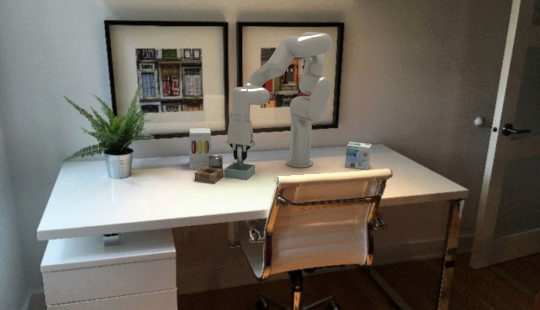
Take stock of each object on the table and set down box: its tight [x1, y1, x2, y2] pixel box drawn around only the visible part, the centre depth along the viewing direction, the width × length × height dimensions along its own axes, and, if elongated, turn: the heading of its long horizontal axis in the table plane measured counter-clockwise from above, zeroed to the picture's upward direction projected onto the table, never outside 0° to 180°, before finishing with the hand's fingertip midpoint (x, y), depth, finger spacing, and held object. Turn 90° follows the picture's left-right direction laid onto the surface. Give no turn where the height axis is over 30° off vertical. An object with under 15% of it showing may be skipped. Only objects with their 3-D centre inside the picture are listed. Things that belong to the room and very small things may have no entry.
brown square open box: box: [194, 167, 224, 185], centre depth 198 cm, size 9×9×4 cm
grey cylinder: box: [209, 154, 224, 170], centre depth 206 cm, size 6×6×8 cm
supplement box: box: [188, 127, 212, 170], centre depth 212 cm, size 10×9×17 cm
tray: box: [224, 161, 256, 181], centre depth 204 cm, size 10×10×4 cm
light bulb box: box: [344, 141, 372, 171], centre depth 219 cm, size 11×7×11 cm, turn 71°
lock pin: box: [236, 145, 245, 170], centre depth 202 cm, size 4×4×13 cm
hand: (240, 158), depth 203 cm, fingers closed on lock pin, 3 cm apart
